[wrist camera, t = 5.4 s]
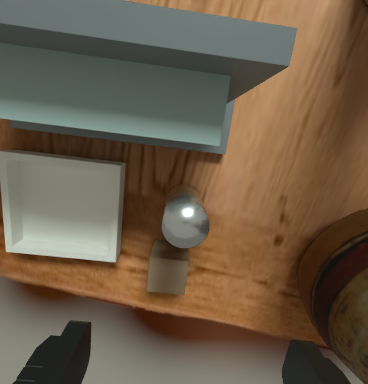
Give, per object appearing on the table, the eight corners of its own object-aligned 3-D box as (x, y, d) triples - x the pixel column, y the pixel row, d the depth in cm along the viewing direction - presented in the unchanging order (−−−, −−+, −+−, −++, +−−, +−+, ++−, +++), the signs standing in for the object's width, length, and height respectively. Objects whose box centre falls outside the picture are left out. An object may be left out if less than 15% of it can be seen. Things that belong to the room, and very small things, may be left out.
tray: (125, 162, 27) (120, 165, 25) (120, 251, 30) (115, 262, 28) (14, 149, 26) (-3, 150, 24) (20, 241, 29) (5, 251, 27)
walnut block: (187, 242, 30) (189, 261, 26) (183, 272, 31) (184, 294, 27) (154, 239, 30) (149, 257, 25) (151, 269, 31) (146, 291, 27)
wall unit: (234, 89, 25) (321, 21, 10) (223, 153, 27) (283, 181, 12) (13, 58, 24) (-289, -78, 8) (17, 127, 26) (-226, 120, 10)
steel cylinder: (203, 186, 28) (212, 206, 20) (198, 219, 29) (205, 250, 21) (168, 182, 28) (164, 201, 20) (164, 215, 29) (159, 245, 21)
